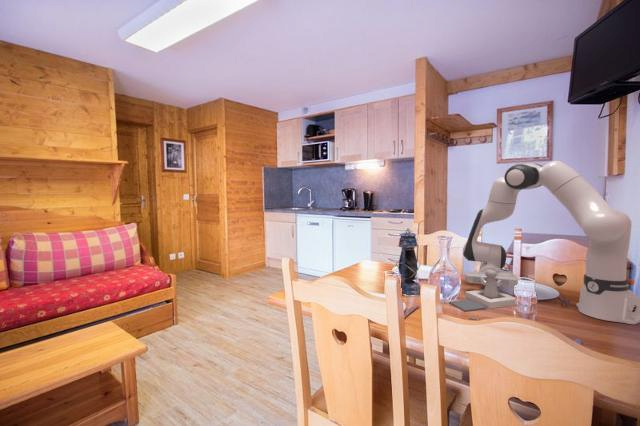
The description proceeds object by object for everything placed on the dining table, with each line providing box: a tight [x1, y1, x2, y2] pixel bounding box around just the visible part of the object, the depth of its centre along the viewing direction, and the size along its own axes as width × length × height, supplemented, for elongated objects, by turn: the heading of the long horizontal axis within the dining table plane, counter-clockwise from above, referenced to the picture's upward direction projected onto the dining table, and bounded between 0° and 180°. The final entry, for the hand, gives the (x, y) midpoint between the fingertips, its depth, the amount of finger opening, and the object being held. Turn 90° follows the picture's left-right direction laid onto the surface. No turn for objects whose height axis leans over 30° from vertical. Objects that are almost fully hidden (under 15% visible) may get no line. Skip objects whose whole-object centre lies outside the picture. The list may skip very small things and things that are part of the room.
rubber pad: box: [448, 298, 487, 313], centre depth 127 cm, size 10×10×1 cm
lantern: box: [395, 228, 421, 296], centre depth 145 cm, size 15×12×30 cm
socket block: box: [464, 289, 516, 309], centre depth 132 cm, size 14×14×2 cm
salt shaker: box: [483, 270, 499, 299], centre depth 131 cm, size 6×6×13 cm
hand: (491, 284), depth 131 cm, fingers closed on salt shaker, 3 cm apart
